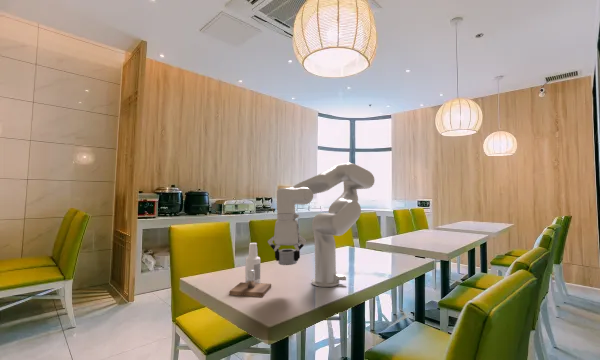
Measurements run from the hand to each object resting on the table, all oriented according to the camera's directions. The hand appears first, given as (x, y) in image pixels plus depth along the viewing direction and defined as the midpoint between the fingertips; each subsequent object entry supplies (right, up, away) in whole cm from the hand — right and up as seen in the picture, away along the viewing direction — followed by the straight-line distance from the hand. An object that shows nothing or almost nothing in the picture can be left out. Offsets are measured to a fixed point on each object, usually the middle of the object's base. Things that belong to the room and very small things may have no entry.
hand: (287, 260), depth 116 cm
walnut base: (-15, -13, +1) cm, 20 cm away
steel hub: (0, -1, 0) cm, 1 cm away
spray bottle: (-16, -14, +12) cm, 25 cm away
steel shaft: (-15, -12, +1) cm, 19 cm away
